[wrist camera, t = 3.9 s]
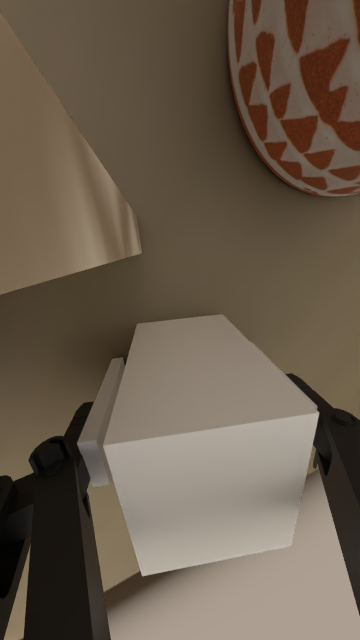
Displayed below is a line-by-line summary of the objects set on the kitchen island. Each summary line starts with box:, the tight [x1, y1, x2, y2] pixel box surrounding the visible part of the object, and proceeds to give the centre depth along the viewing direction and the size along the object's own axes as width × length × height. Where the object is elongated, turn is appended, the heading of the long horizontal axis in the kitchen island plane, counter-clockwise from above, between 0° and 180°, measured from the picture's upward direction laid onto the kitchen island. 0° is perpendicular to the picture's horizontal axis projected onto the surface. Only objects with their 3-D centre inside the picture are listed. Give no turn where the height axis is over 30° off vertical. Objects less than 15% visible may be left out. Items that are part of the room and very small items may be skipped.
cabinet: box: [103, 314, 319, 576], centre depth 11 cm, size 8×6×9 cm
